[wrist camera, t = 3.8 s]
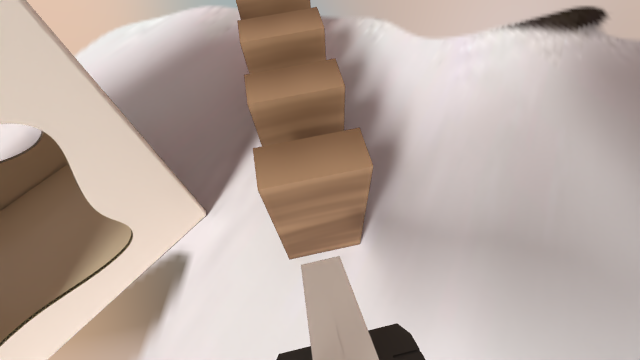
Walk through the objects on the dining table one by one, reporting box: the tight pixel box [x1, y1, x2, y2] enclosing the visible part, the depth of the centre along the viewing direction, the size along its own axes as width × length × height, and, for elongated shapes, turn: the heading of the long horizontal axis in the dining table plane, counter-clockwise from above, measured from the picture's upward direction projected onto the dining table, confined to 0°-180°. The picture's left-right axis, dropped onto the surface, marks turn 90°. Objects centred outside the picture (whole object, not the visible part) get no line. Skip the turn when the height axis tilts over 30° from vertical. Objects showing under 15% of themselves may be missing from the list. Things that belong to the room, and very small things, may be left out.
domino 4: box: [253, 128, 373, 259], centre depth 18 cm, size 2×5×10 cm, turn 102°
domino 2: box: [238, 7, 326, 74], centre depth 23 cm, size 2×5×10 cm, turn 102°
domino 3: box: [244, 59, 345, 147], centre depth 21 cm, size 2×5×10 cm, turn 102°
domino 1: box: [236, 0, 311, 20], centre depth 26 cm, size 2×5×10 cm, turn 102°
